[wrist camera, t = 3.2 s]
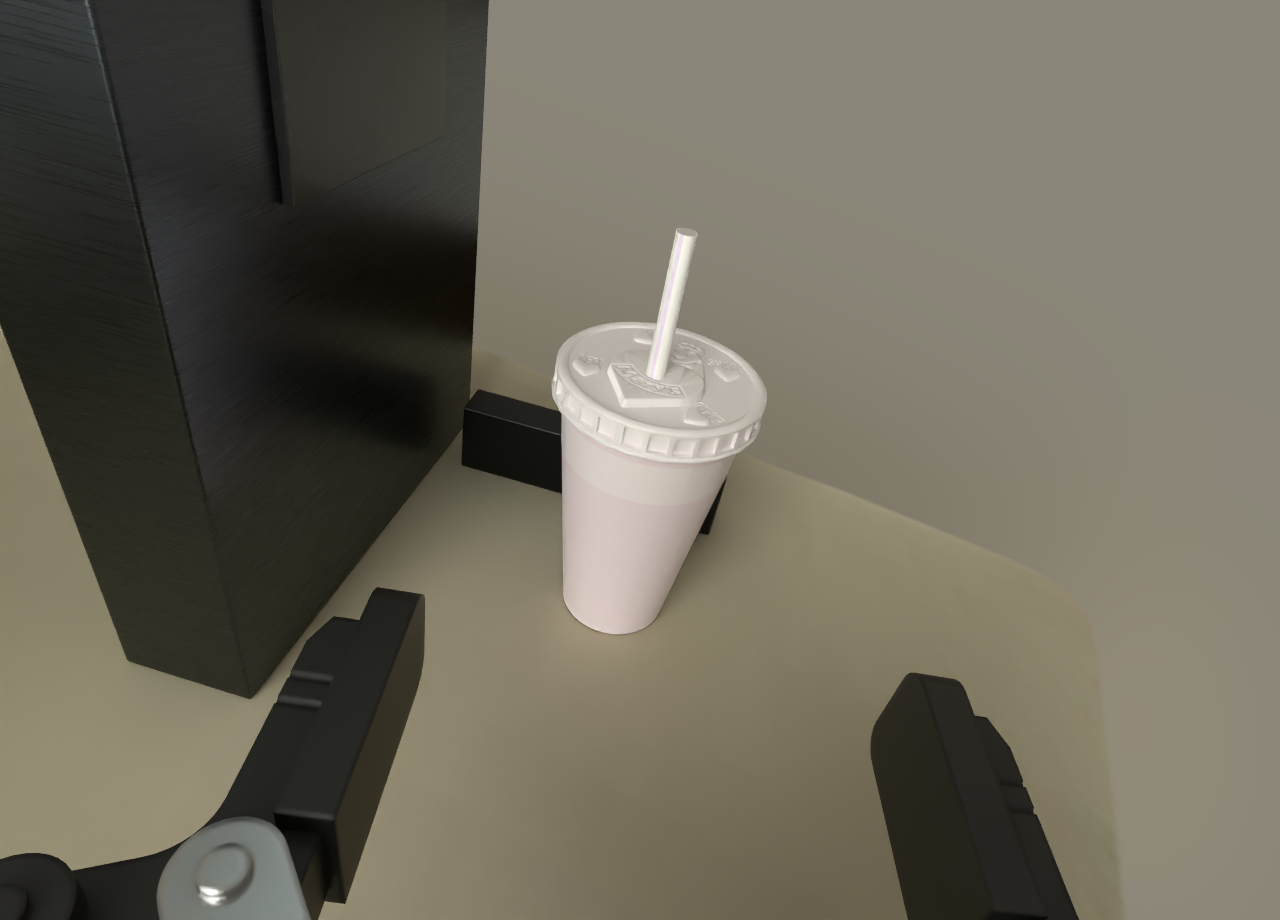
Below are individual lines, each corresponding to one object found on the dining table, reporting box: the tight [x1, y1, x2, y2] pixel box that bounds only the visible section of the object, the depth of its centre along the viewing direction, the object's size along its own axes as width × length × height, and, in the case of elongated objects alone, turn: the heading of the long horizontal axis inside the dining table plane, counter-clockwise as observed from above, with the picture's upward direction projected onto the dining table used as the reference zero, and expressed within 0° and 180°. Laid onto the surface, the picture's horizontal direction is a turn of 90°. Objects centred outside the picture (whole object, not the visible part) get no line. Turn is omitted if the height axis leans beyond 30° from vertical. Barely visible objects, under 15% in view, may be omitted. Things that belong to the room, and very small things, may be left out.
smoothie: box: [551, 228, 767, 634], centre depth 23 cm, size 6×6×14 cm
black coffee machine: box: [0, 0, 727, 699], centre depth 20 cm, size 16×16×25 cm
